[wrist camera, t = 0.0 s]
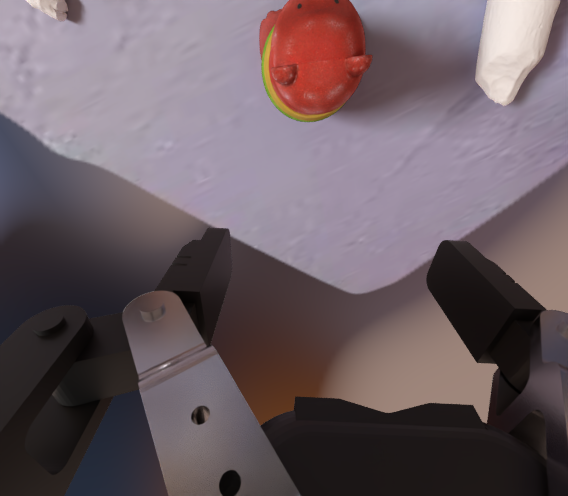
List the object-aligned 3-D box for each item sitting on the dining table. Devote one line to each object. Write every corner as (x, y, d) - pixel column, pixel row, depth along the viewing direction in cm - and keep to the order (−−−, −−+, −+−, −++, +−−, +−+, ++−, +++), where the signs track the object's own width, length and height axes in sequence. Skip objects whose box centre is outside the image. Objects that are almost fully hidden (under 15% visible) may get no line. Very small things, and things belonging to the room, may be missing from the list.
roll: (458, 108, 33) (485, 113, 29) (478, -23, 27) (518, -44, 22) (509, 99, 33) (546, 102, 28) (542, -37, 26) (597, -62, 22)
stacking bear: (359, 10, 29) (435, -68, 14) (347, 115, 34) (391, 143, 19) (258, 10, 29) (223, -66, 14) (262, 114, 34) (240, 142, 19)
